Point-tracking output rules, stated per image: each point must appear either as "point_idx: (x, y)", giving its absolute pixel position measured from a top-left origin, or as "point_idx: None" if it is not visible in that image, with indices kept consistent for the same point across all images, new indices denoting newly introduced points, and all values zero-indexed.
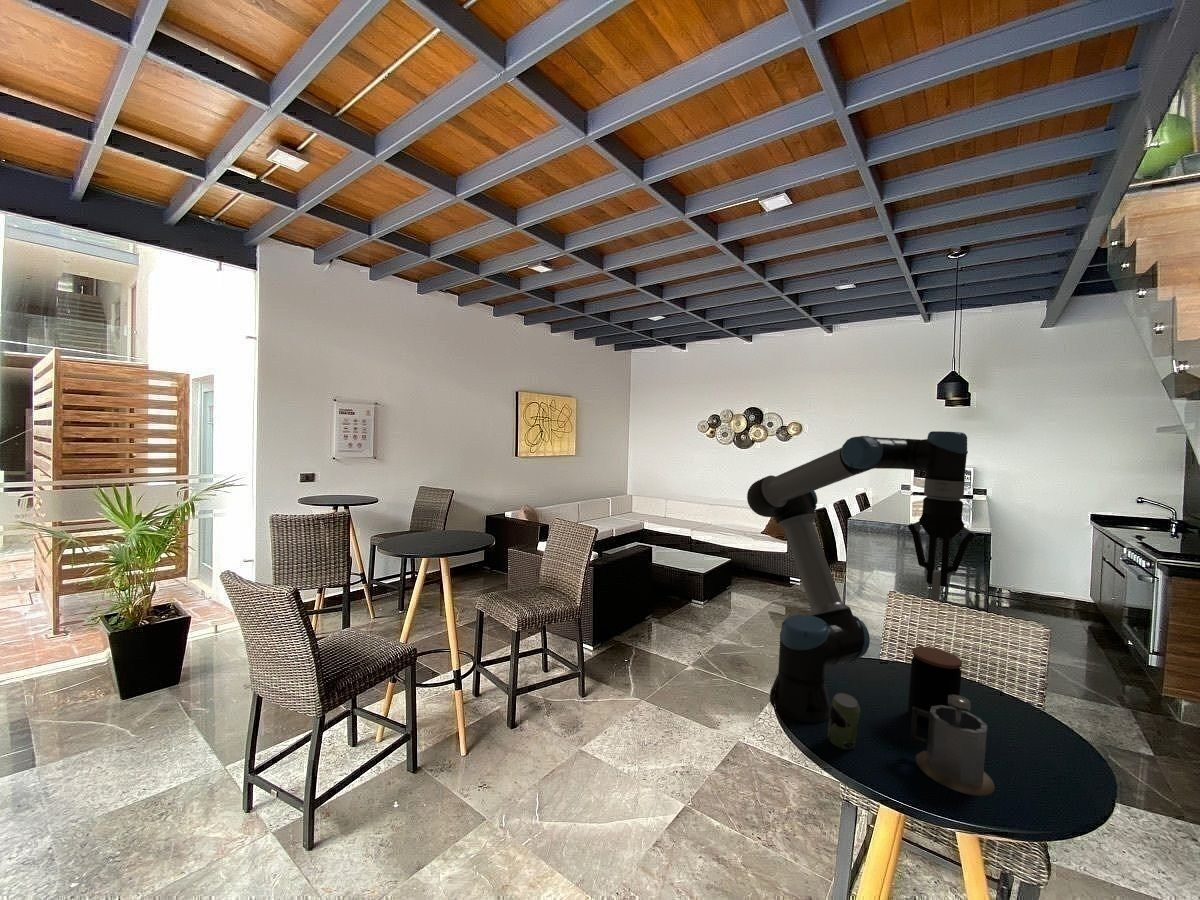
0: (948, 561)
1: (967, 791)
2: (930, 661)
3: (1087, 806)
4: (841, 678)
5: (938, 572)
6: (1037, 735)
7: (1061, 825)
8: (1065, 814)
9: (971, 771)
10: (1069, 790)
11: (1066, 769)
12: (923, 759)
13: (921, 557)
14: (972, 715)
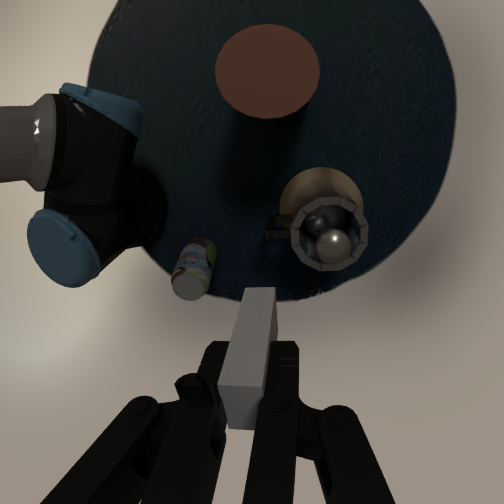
0: (294, 474)
1: None
2: (263, 118)
3: (440, 162)
4: (134, 66)
5: (254, 426)
6: (393, 16)
7: (415, 222)
8: (421, 197)
9: None
10: (429, 140)
11: (427, 88)
12: (288, 210)
13: (148, 474)
14: (348, 205)
